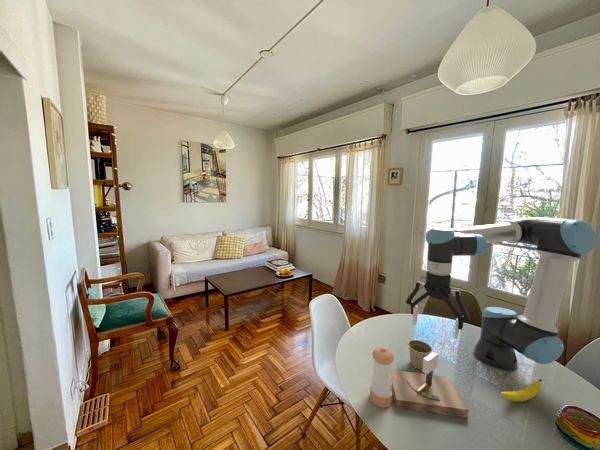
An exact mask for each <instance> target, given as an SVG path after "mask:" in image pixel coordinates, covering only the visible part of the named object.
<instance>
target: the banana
mask: <svg viewBox="0 0 600 450" xmlns="http://www.w3.org/2000/svg"><path fill="white" fill-rule="evenodd" d="M541 382H543V380H542V379H541V378H540V379H538V380H537V381H534V382H532V383H531V384H529V386H527V387H526V388H523V389H519V390H512V391H500V394H501V396H502V397H503V398H504V399H506V400H509V401H512V402H517V403H518V402H520V403H521V402H526V401H529V400H531V399H533V398H534V397H535V396H536V395H537V394H538V393H539V392H540V389H541V386H542V383H541Z"/></svg>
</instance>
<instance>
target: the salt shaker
mask: <svg viewBox="0 0 600 450" xmlns="http://www.w3.org/2000/svg"><path fill="white" fill-rule="evenodd" d="M371 355H372V358H373V360H374V361H373V362H374V363H373V370H372V371H373V372H372V375H371V384H370V387H369V391H370V392H369V400H370V401H371V403H372V404H373V405H375V406H376V407H379V408H382V409H386V408H389V407H390V406H392V403H393V402H392V401H393V399H392V398H393V392H392V388H391V385H392V382H391V370H392V369H391V367H392V364H393V362H394V359H395V357H394V354H393V352H392V351H391V350H390V349H388V348H387V347H382V346H379V347H375V348H374V349H373V351H372V354H371Z"/></svg>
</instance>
